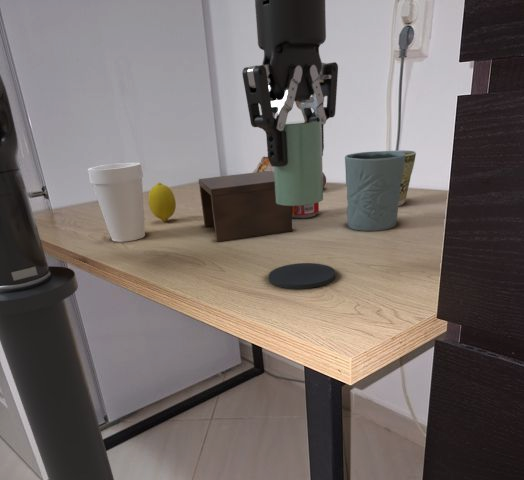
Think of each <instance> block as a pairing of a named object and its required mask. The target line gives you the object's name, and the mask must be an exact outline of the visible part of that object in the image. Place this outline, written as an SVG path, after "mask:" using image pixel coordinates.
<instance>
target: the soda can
mask: <svg viewBox="0 0 524 480" xmlns="http://www.w3.org/2000/svg"><path fill="white" fill-rule="evenodd" d="M319 203H320V202H318V203H314V204H309V205H299V206H291V210H292V219H293V218H294V219H309V218H313V217H316V215H317V214H318V213H319V211H320V210H319V209H320V207H319V205H320V204H319Z"/></svg>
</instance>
